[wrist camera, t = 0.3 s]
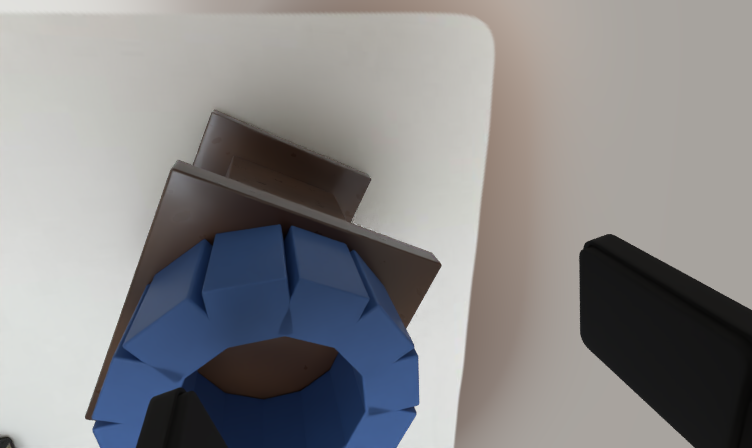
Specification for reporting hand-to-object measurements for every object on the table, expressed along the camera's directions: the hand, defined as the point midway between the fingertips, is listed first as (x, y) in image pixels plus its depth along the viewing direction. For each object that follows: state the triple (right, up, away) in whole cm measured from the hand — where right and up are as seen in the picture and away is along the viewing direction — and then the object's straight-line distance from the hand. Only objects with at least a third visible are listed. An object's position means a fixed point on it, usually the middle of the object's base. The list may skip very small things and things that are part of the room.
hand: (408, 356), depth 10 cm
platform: (-8, +4, +20) cm, 22 cm away
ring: (-5, -2, +7) cm, 9 cm away
